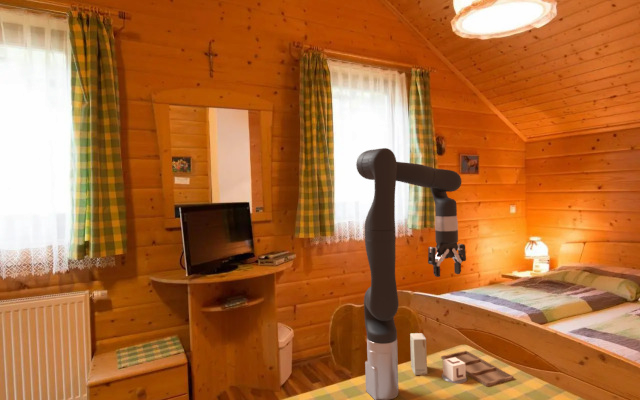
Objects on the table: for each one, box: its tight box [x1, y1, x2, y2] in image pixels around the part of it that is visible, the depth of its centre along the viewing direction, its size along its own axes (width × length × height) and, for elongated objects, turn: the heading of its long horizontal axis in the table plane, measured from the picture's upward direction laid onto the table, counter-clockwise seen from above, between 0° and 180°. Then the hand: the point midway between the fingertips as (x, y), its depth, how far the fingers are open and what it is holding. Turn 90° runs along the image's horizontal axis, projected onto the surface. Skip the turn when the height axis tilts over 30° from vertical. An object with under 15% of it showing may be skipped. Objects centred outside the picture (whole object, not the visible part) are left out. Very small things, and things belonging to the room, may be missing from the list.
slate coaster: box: [441, 372, 468, 384], centre depth 130 cm, size 8×8×1 cm
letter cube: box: [442, 357, 467, 381], centre depth 130 cm, size 5×5×5 cm
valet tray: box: [440, 350, 515, 387], centre depth 135 cm, size 11×22×1 cm, turn 21°
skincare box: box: [409, 332, 428, 376], centre depth 135 cm, size 6×4×12 cm
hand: (447, 275), depth 137 cm, fingers open, 8 cm apart
